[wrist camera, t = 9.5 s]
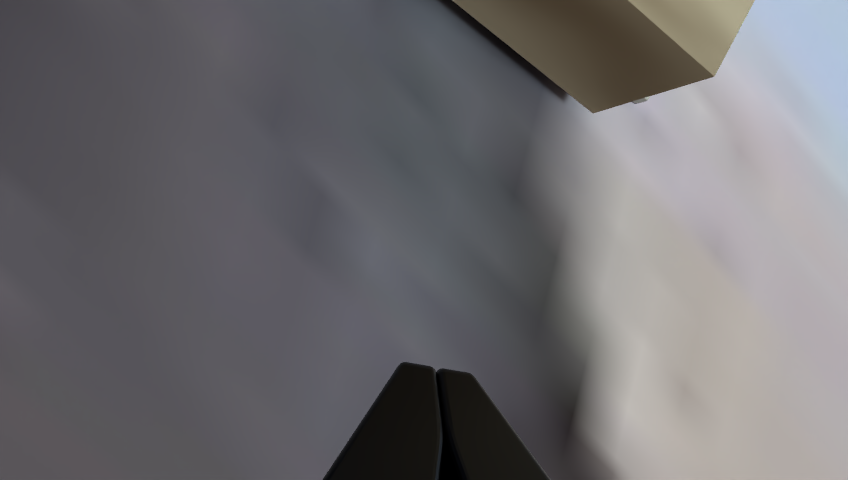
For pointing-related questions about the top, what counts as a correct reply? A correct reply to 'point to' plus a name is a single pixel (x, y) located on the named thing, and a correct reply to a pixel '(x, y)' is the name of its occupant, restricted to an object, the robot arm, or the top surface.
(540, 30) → the oak block
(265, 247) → the top surface
